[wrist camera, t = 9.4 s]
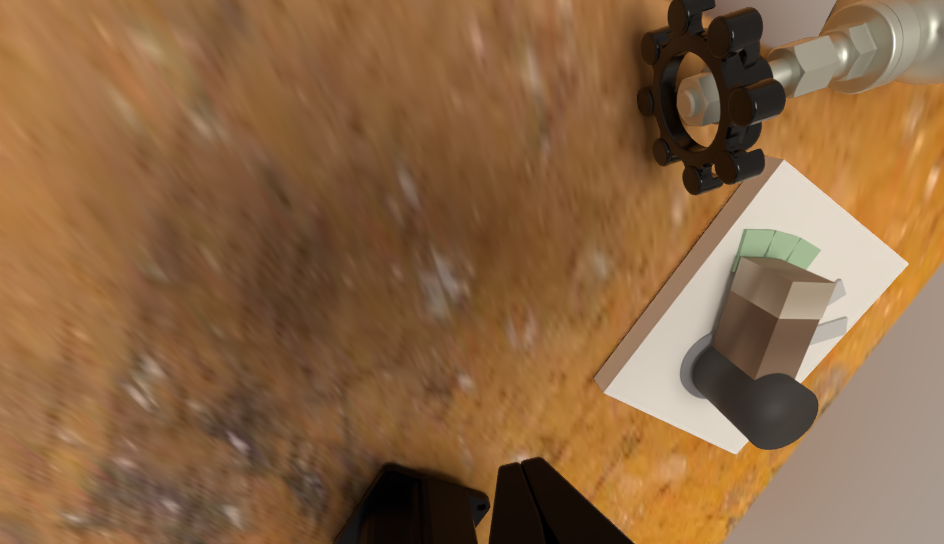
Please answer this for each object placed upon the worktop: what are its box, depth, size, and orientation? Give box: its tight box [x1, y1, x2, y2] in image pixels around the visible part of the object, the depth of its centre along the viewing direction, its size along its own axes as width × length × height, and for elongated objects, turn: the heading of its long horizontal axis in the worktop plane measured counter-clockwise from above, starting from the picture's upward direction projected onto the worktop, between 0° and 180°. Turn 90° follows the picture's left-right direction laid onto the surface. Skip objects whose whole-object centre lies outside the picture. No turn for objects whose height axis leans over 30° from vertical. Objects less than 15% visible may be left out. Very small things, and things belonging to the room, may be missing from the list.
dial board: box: [593, 156, 909, 454], centre depth 23 cm, size 13×10×1 cm
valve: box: [637, 0, 944, 195], centre depth 16 cm, size 7×7×12 cm
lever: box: [692, 257, 837, 450], centre depth 20 cm, size 7×3×4 cm, turn 174°
